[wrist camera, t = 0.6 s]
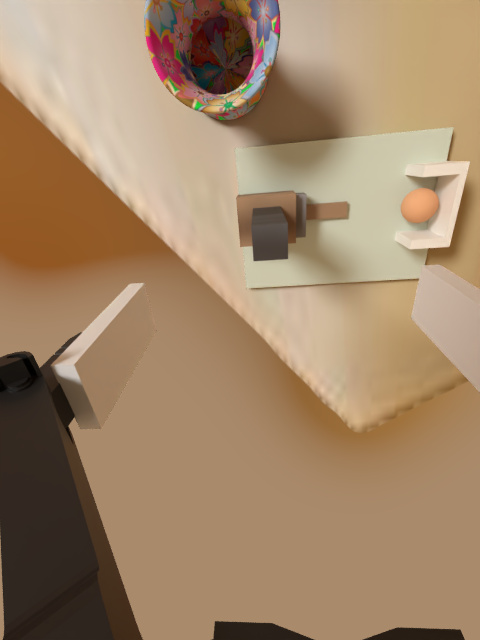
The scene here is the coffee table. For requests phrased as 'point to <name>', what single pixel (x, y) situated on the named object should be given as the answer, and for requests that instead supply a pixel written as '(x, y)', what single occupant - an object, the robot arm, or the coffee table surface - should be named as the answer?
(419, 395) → the coffee table surface
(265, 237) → the kicker
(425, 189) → the ball
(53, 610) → the robot arm
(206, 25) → the mug
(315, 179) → the pitch
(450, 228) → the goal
